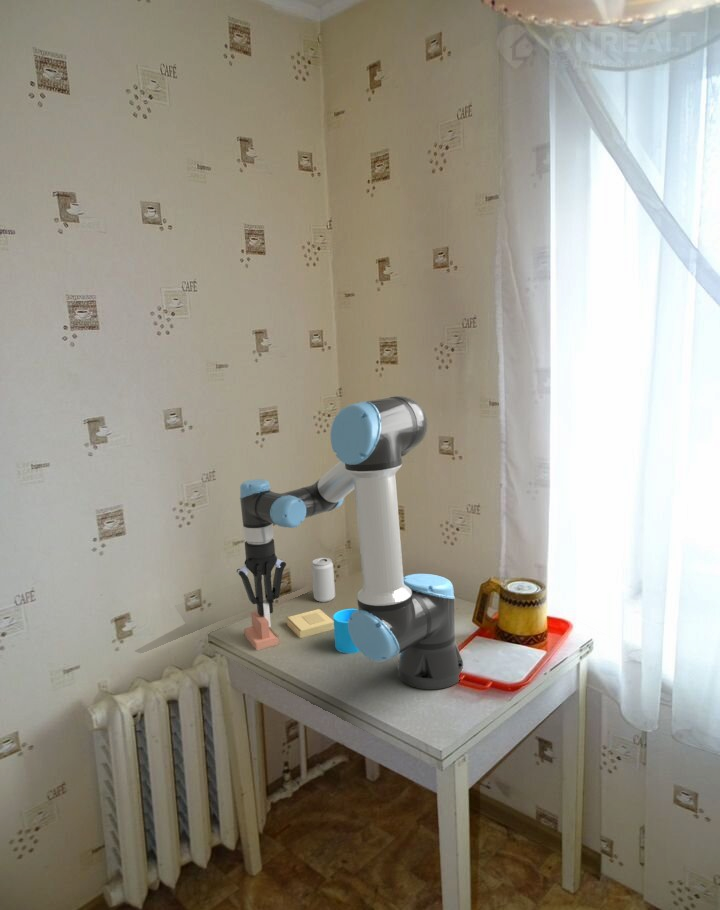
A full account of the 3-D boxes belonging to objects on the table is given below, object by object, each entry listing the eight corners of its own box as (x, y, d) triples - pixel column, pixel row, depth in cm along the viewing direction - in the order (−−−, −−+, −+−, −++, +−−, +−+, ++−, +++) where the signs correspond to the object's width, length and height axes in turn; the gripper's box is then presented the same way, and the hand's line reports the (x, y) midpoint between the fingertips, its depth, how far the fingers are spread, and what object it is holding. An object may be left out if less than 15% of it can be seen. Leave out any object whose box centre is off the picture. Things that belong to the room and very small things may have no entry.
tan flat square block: (334, 628, 181) (334, 621, 180) (300, 638, 176) (299, 630, 176) (319, 615, 190) (319, 608, 189) (286, 624, 185) (286, 617, 185)
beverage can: (339, 596, 202) (337, 558, 200) (327, 604, 197) (324, 565, 194) (322, 593, 205) (319, 555, 203) (309, 600, 200) (306, 562, 198)
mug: (370, 650, 168) (368, 620, 166) (338, 655, 166) (336, 624, 165) (360, 630, 180) (359, 601, 178) (330, 634, 178) (328, 605, 176)
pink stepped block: (279, 644, 174) (277, 620, 173) (256, 650, 171) (254, 626, 170) (266, 629, 183) (264, 607, 181) (244, 635, 180) (242, 612, 179)
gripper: (278, 531, 179) (284, 614, 183) (230, 540, 173) (238, 626, 178) (288, 538, 172) (294, 624, 177) (238, 548, 166) (247, 637, 171)
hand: (266, 625), depth 177 cm, fingers closed
